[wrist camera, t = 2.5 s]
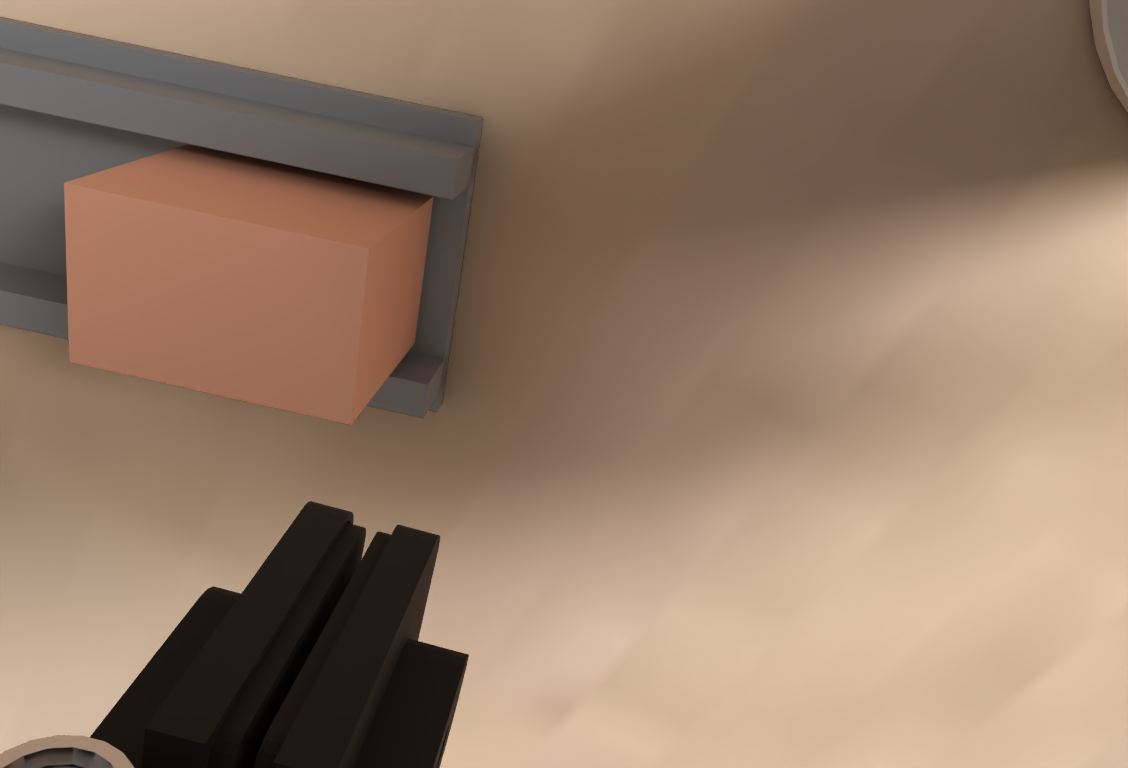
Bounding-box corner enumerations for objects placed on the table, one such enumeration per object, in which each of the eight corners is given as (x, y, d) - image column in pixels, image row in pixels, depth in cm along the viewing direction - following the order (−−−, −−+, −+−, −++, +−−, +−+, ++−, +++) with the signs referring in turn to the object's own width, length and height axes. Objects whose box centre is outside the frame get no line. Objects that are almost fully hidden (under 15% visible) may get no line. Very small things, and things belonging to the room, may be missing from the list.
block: (433, 196, 30) (369, 248, 24) (414, 343, 32) (350, 424, 26) (188, 144, 30) (64, 182, 24) (184, 292, 32) (69, 362, 26)
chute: (483, 117, 30) (462, 130, 27) (442, 402, 34) (419, 439, 31) (-356, -58, 31) (-459, -63, 28) (-301, 238, 35) (-386, 259, 32)
